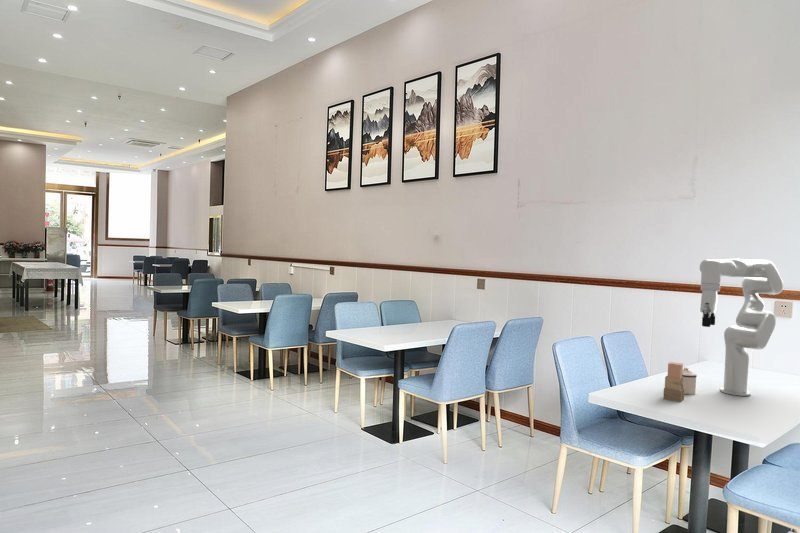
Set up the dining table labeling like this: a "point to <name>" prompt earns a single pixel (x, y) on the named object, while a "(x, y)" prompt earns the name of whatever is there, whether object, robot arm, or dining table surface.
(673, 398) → the tower base
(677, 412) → the dining table surface
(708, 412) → the dining table surface
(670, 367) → the terracotta block
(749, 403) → the dining table surface
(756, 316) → the robot arm
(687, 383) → the teacup with lid
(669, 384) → the block
